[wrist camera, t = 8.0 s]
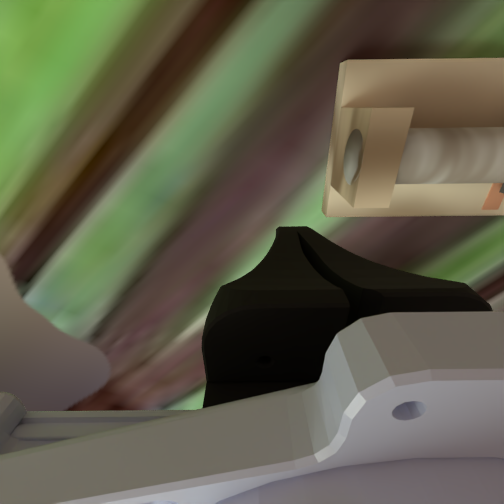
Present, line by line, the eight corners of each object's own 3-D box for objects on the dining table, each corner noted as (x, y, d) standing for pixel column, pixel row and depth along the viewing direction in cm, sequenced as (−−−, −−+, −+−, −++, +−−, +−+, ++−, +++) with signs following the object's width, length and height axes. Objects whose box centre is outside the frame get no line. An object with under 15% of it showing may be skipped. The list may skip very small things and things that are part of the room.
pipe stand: (538, 208, 22) (642, 244, 16) (321, 210, 22) (346, 247, 16) (620, 59, 17) (811, 35, 11) (340, 63, 17) (385, 41, 11)
